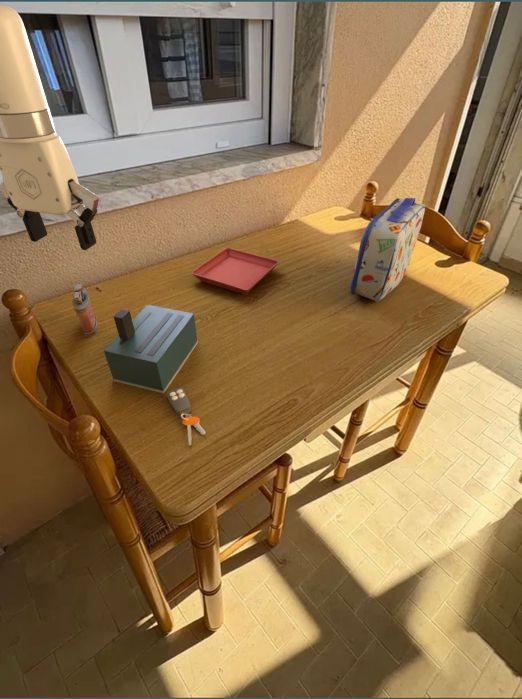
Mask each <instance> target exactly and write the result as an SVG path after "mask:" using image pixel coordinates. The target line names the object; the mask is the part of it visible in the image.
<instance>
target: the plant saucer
mask: <svg viewBox="0 0 522 699" xmlns="http://www.w3.org/2000/svg"><path fill="white" fill-rule="evenodd" d="M279 263H280V262H279V260H277V259H274V258H269V257H267V256H266V257H265V256H264V255H263V256H262V255H258V254H255V253H251V252H247V251H243V250H239V249H236V248H232V247H225V248H223V249H222V250H220V251H219V252H218V253H216V254H214V255H213V256H212V257H210V258H208V260H207V261H204V263H201V264H200V265H199V266H197V267H196V268H194V269H193V270H192V271H191V274H192V276H194V277H195V278H196V279H198V280H199V281H201V282H203V283H206V284H209V285H212V286H216V287H219V288H222V289H225V290H228V291H231V292H235V293H237V294H241V295H247V294H248V293H249V292H250V291H251V290H252V289H253V288H254V287H255V286H257V285H258V284H259V283H260V282H261V281H262V280H263V279H265V278H266V277H267V276H268V275H269V274H270V273H271V272H272V271H273V270H274V269H275V268H276V267H277V266H278V265H279Z"/></svg>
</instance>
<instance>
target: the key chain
mask: <svg viewBox="0 0 522 699" xmlns="http://www.w3.org/2000/svg"><path fill="white" fill-rule="evenodd" d="M165 395H166V399H167V400H168V402H169V404H170V405H171V407H172V409H173V411H175V413H176V414H177V415H180V417H181V419H182V420H181V424H182V425H183V426H186V427H187V441H188V446H189V447H190V446H192V438H193V437H192V427H193V428H195V429H196V431H197V432H198V433H200V434H199V435H201V436H205V435H206V434H207V431H205V429H204V428H203V427H202V425H201V424H200V422H201V419H200V418H199V417H198V416H192V414H190V413H191V410H192V405H191V403H190V400H189V398H188V395H187V393H186V391H185V389H184V388H183V387H175V388H173V389H172V388H171V389H170V390H169V391H167V392H165ZM184 416H185V417H184Z"/></svg>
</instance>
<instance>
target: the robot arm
mask: <svg viewBox="0 0 522 699" xmlns="http://www.w3.org/2000/svg"><path fill="white" fill-rule="evenodd" d="M0 174H1V177H2V180H3V182H1V183H0V193H1V194H2V195H3V197H4V198H5V199H7V200H6V202H7V203H8V205H10V207H12V208H13V209H14V210H15V211H16V215H17V216H18V218H21V219H22V222H23V224H24V227H25V229H26V232H27V234H28V236H29V239H30V242H33V243H36V242H38V241H40V240H41V239H43V238H45V237H47V236H48V231H47V229H46V228H47V227H46V225H45V222H44V220H43V218H42V215H41V214H48V215H53V216H64V215H68V217H69V218H70V219H71V220H72V221H73V222H74V223H75V224H76V225H74V231H75V234H76V237H77V240H78V243H79V247H80V249H81V250H82V251H87V250H89V249H90V248H92V247H93V246H95V245H97V238H96V234H95V231H94V228H93V225H92V222H93V220H94V218H95V216H96V214H97V213H98V207H99V206H98V205H99V200H100V199H99V196H98V195H96V194H95V193H94V192H92V191H90V190H89V189H88V188H86V187H84V186H83V185H81V184H80V180H79V178H78V175H77V173H76V170H75V167H74V164H73V162H72V160H71V157H70V155H69V152H68V150H67V148H66V145H65V144H64V142H63V140H62V138H61V136H60V135H58V134H57V131H56V127H55V124H54V120H53V117H52V114H51V110H50V107H49V103H48V100H47V97H46V93H45V90H44V87H43V83H42V80H41V77H40V74H39V70H38V67H37V64H36V60H35V57H34V54H33V50H32V48H31V44H30V41H29V38H28V34H27V30H26V27H25V24H24V22H23V19H22V17H21V15H20V14H19V13H18V11H16V9H14V8H12V7H11V6H8V5H6V4H0ZM84 204H85V205H84ZM76 210H77V211H76ZM78 212H79V213H78Z"/></svg>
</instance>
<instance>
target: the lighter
mask: <svg viewBox="0 0 522 699" xmlns="http://www.w3.org/2000/svg"><path fill="white" fill-rule="evenodd" d="M90 300H91V299H90V294H89V292H88V290H87V289H83V286H82V284H81V283H77V284H75V286H74V288H73V296H72V307H73V310H74V312H75V313H76V317H77V318H78V320H79V324H80V326H81V327H80V328H81V332H82V334H83V336H84V337H92V336H94V335H96V333H97V330H98V324H99V323H98V319H97V315H96V314H95V313H94V310H93V306H92V304H91V301H90Z"/></svg>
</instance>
